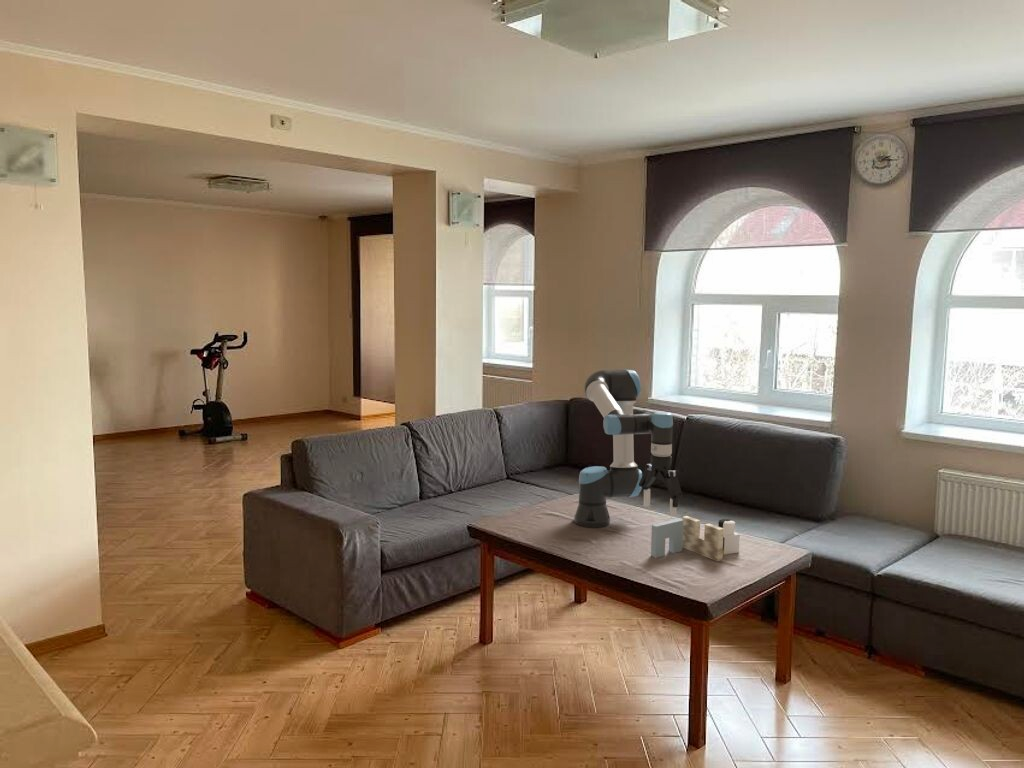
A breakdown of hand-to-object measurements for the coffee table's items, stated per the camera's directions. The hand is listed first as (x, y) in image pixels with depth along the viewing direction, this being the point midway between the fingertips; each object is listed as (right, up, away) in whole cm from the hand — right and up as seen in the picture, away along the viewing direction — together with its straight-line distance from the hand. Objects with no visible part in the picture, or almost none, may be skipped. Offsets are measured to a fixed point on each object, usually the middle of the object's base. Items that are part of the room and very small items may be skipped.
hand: (659, 510), depth 273 cm
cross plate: (+4, -17, +5) cm, 18 cm away
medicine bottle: (+27, -17, +8) cm, 33 cm away
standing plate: (+17, -17, +5) cm, 24 cm away
